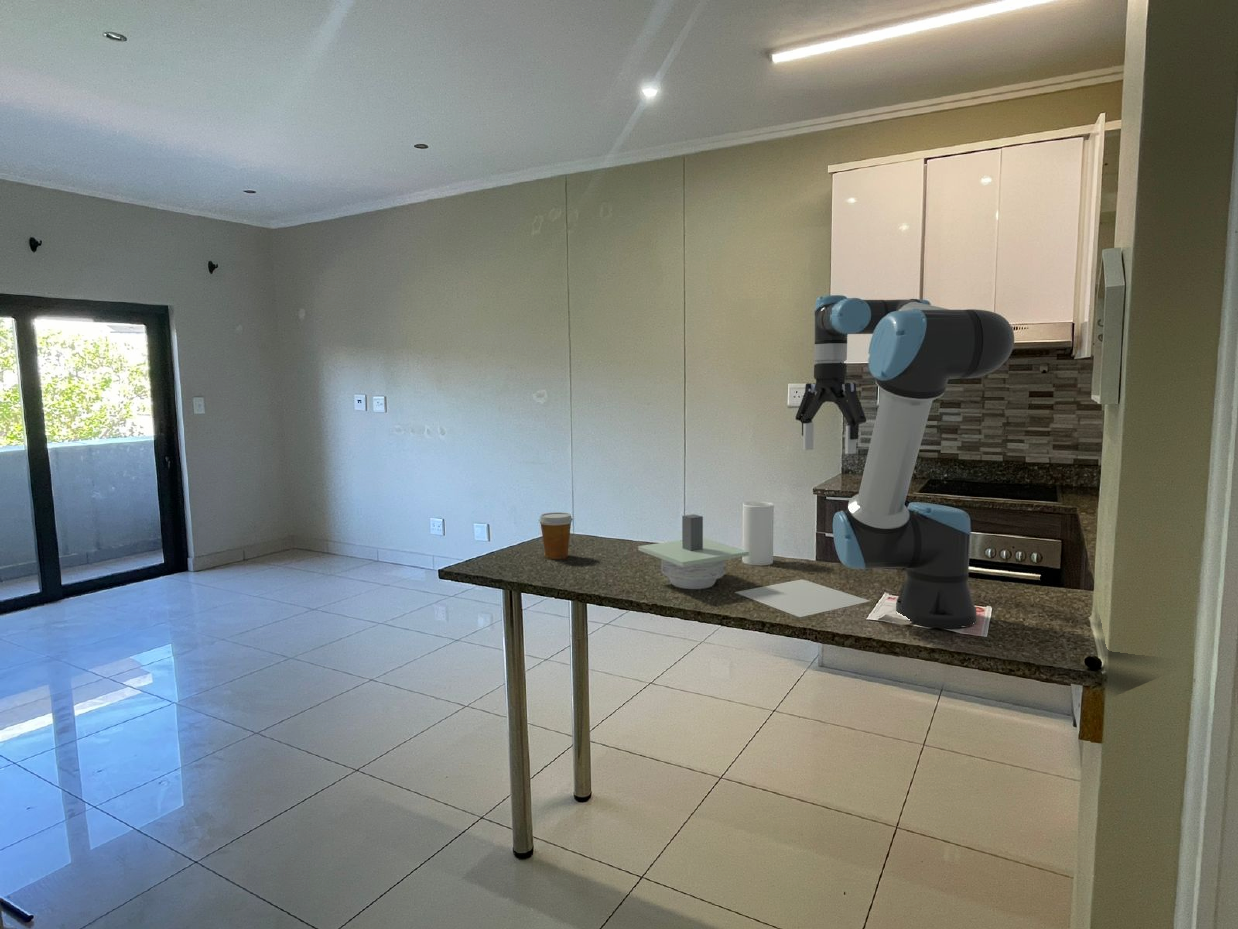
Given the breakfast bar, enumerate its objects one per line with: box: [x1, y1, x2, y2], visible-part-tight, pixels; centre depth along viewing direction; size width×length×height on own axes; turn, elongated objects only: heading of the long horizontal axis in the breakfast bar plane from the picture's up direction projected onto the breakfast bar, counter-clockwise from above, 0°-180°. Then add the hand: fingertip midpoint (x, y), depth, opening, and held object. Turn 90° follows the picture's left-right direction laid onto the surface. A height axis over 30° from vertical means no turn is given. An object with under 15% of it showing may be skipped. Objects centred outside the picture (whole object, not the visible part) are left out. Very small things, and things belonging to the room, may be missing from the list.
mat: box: [734, 579, 871, 618], centre depth 161 cm, size 21×21×1 cm
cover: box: [637, 514, 749, 567], centre depth 171 cm, size 19×19×9 cm
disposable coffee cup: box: [538, 512, 573, 560], centre depth 202 cm, size 10×10×12 cm
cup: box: [741, 501, 775, 566], centre depth 193 cm, size 8×8×16 cm
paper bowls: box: [660, 558, 725, 590], centre depth 172 cm, size 15×15×8 cm
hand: (828, 451), depth 172 cm, fingers open, 13 cm apart
